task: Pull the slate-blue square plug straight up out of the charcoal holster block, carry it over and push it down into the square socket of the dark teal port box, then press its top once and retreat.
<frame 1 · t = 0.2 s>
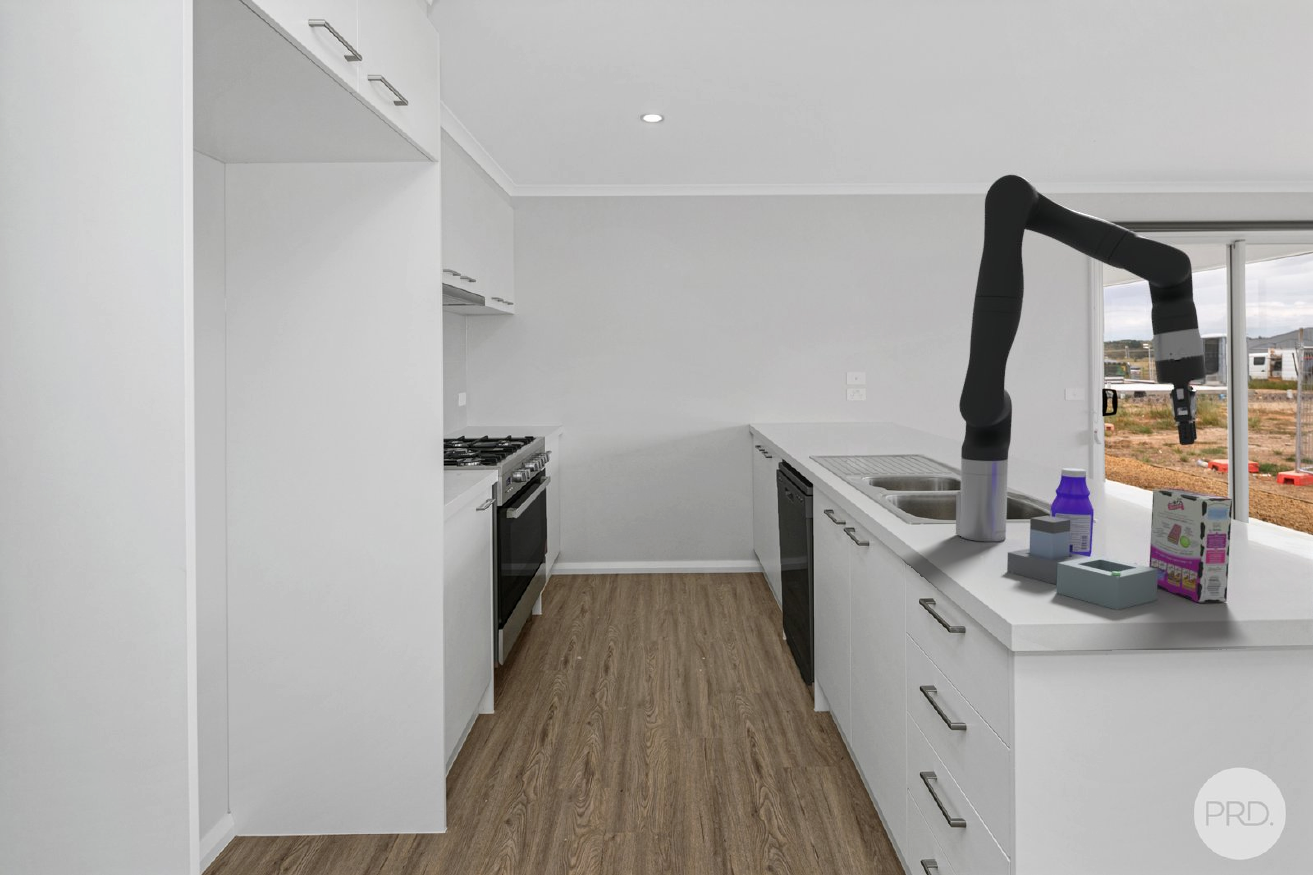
hand: (1188, 442, 142), 22 cm above the worktop, tool pointing down, fingers open, 8 cm apart
holster: (1048, 574, 135), on the worktop
bottle: (1069, 560, 145), on the worktop
candy bar box: (1186, 594, 123), on the worktop
plug: (1049, 546, 135), in the holster
port: (1105, 596, 122), on the worktop
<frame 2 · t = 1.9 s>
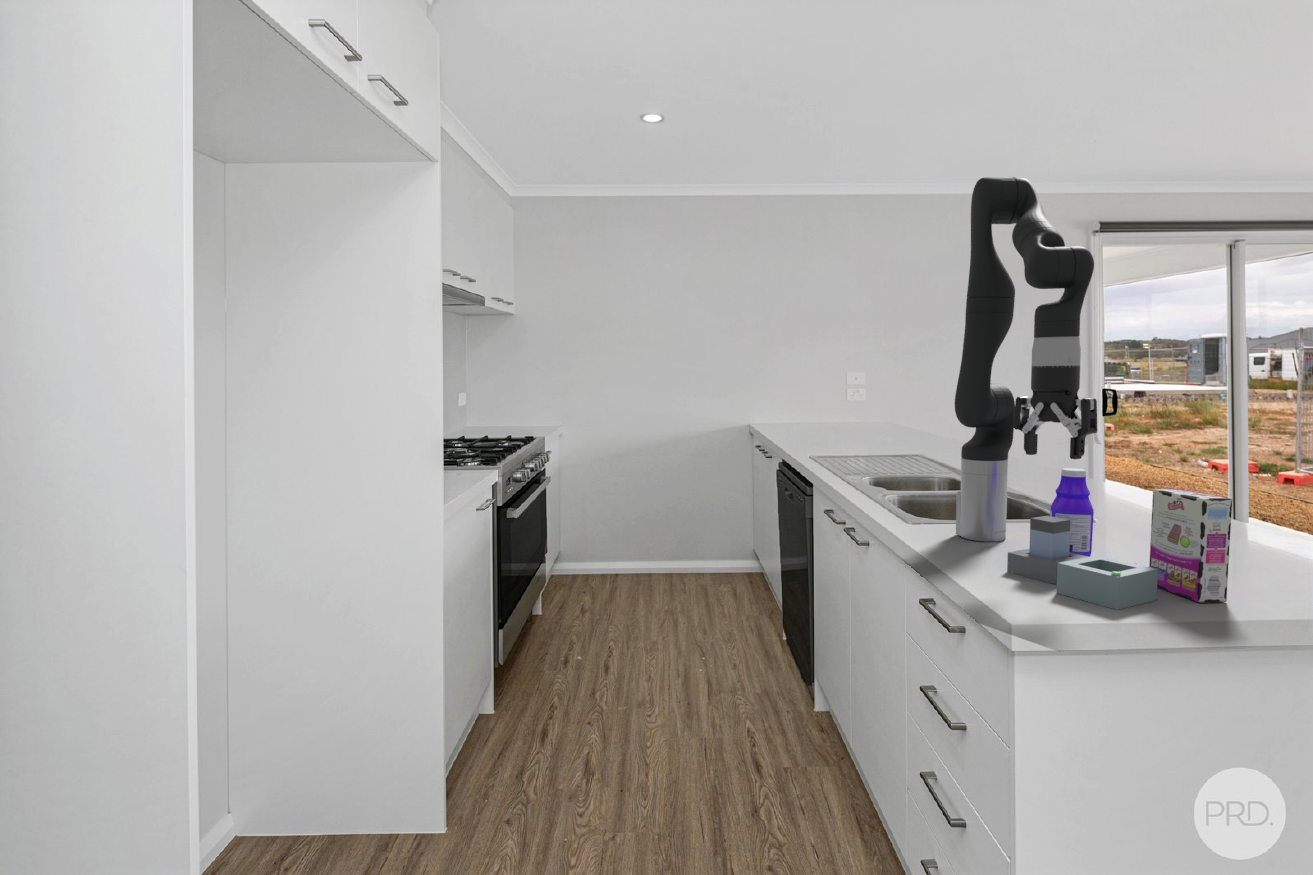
hand: (1052, 456, 133), 21 cm above the worktop, tool pointing down, fingers open, 8 cm apart
nothing on the worktop moved.
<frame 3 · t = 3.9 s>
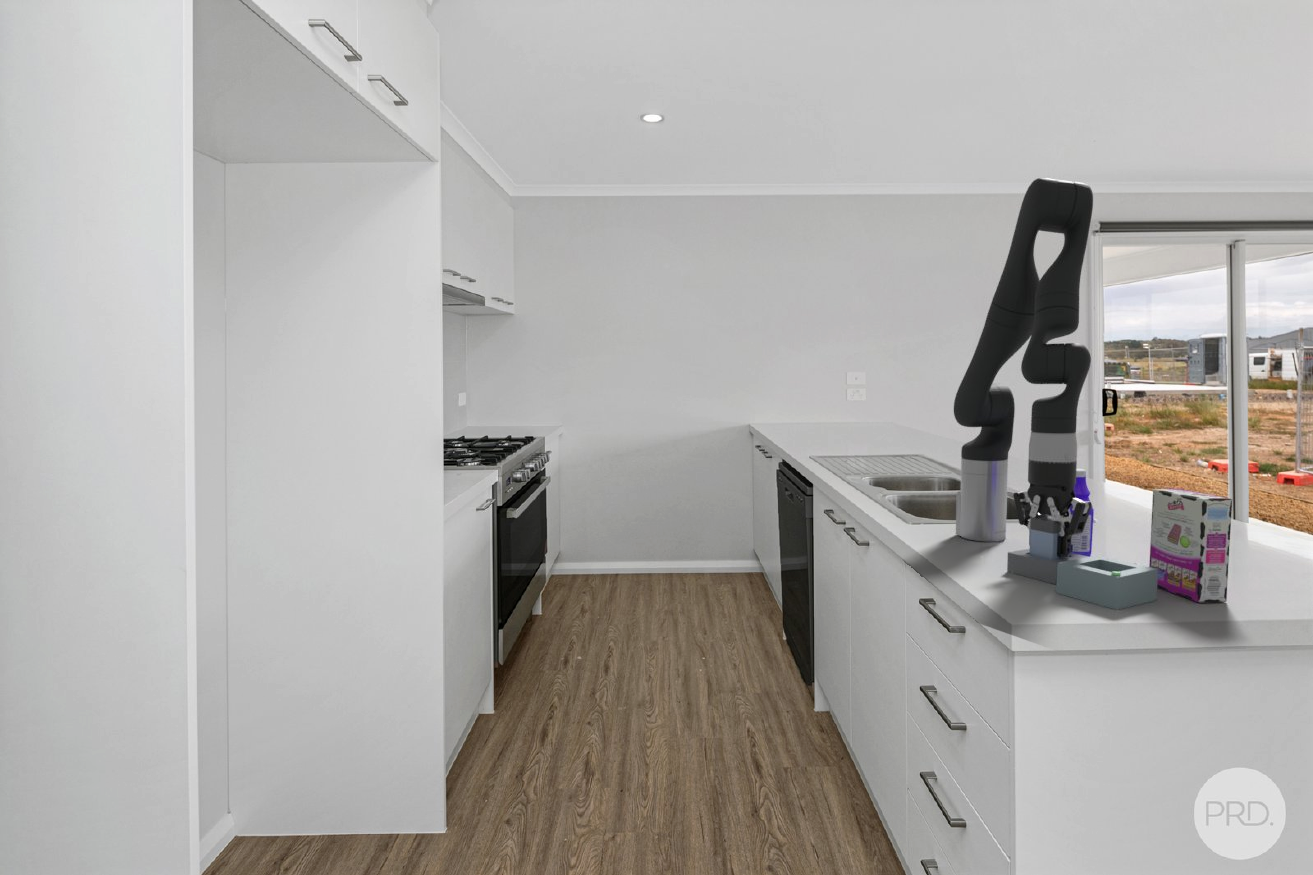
hand: (1049, 553, 135), 4 cm above the worktop, tool pointing down, fingers closed on plug, 4 cm apart
plug: (1049, 546, 135), in the holster, touching gripper
everything else where it was.
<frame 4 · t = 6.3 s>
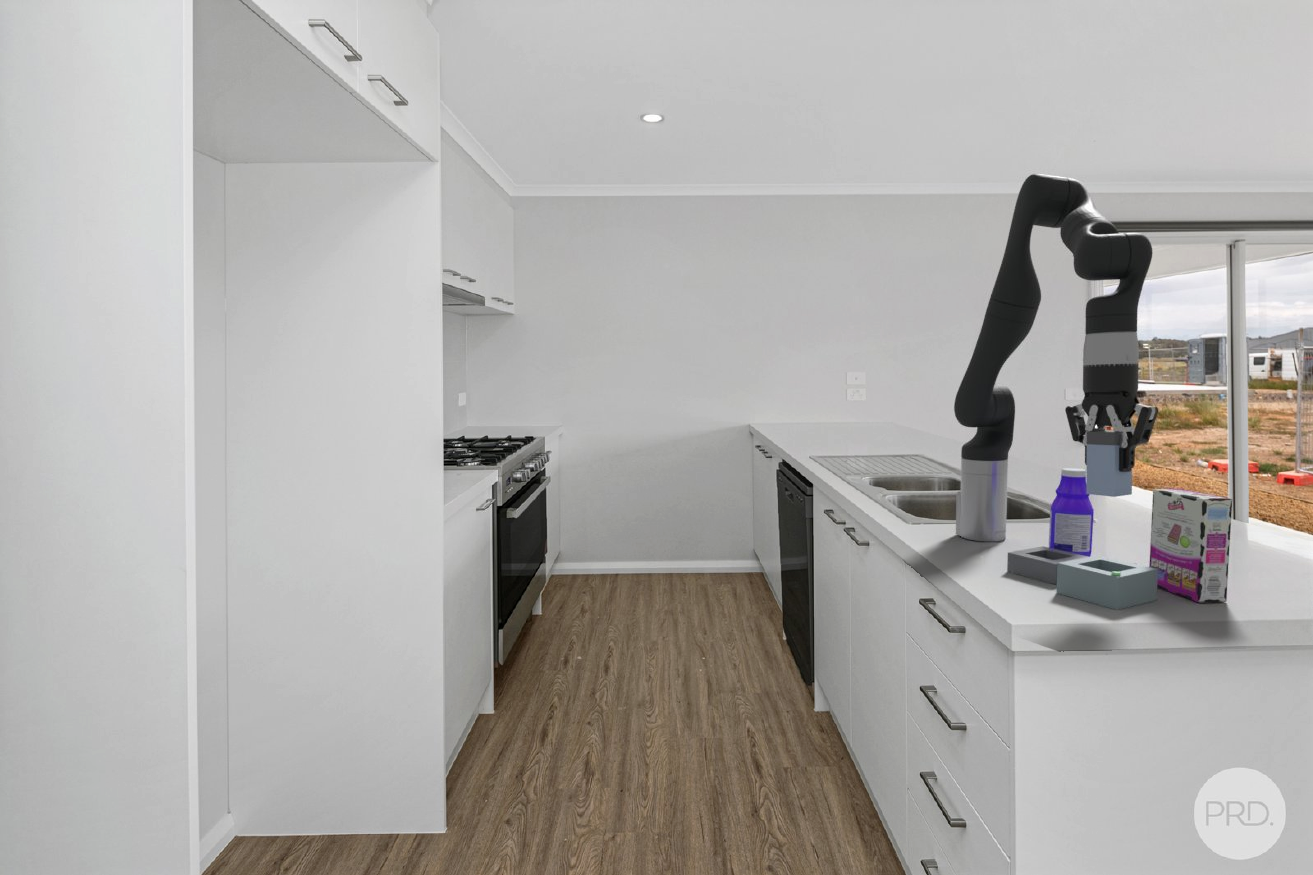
hand: (1108, 469, 121), 20 cm above the worktop, tool pointing down, fingers closed on plug, 4 cm apart
plug: (1109, 462, 121), point 22 cm above the worktop, touching gripper
everything else where it was.
when the fingers open (6 cm above the worktop, at t = 8.6 s): plug drops 1 cm, resting on port.
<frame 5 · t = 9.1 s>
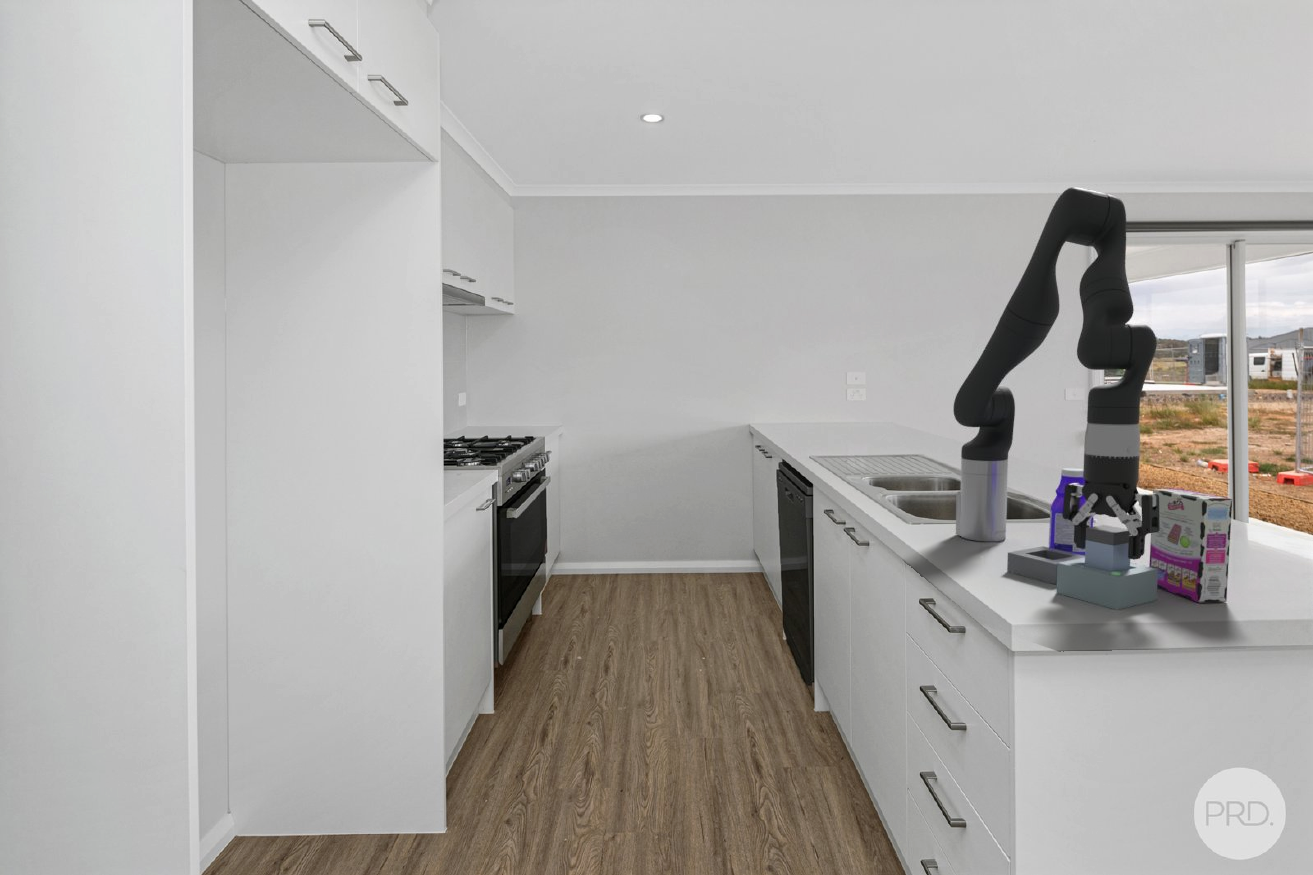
hand: (1107, 553, 121), 7 cm above the worktop, tool pointing down, fingers open, 8 cm apart
plug: (1107, 559, 121), in the port, point 6 cm above the worktop
everything else where it was.
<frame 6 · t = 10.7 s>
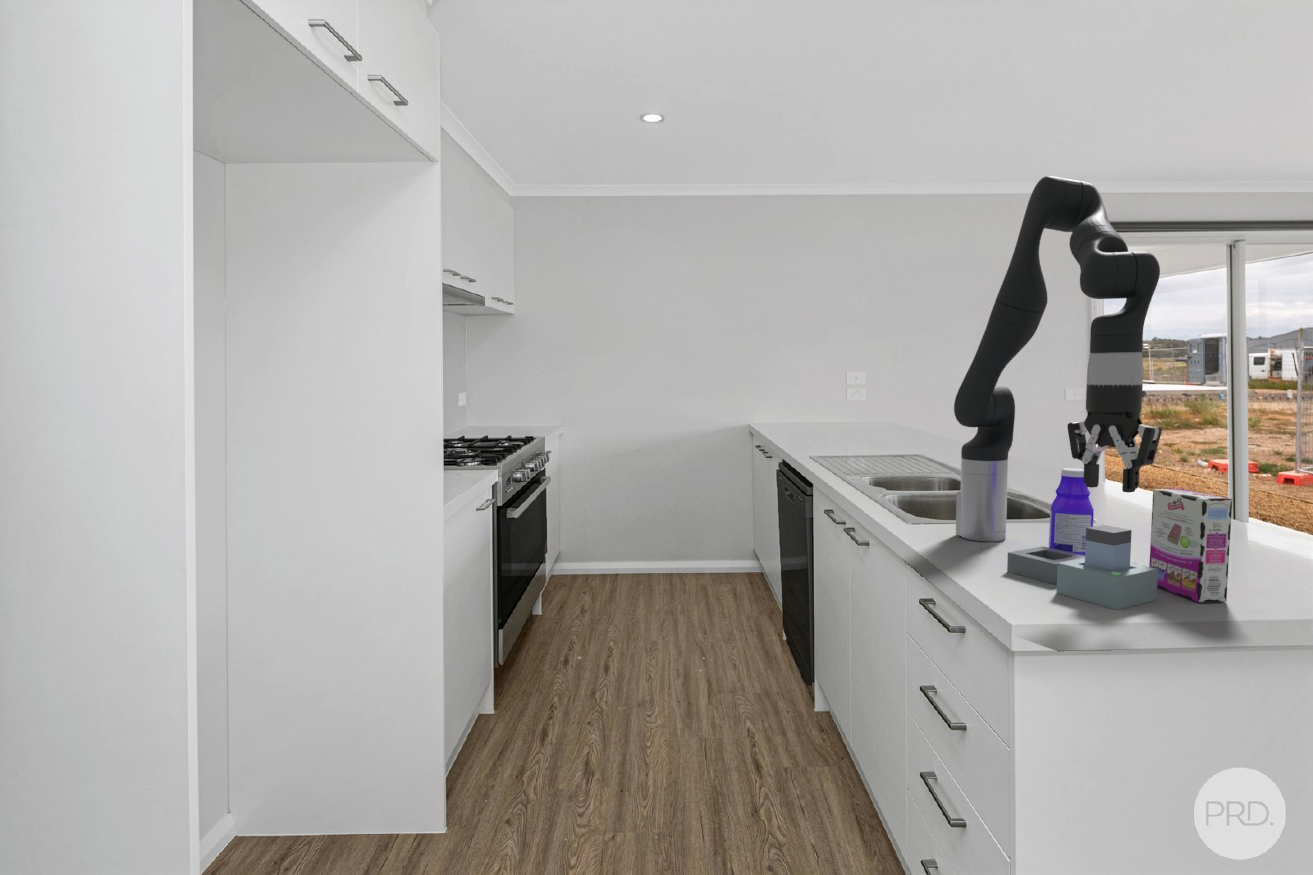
hand: (1109, 488, 120), 17 cm above the worktop, tool pointing down, fingers open, 5 cm apart
nothing on the worktop moved.
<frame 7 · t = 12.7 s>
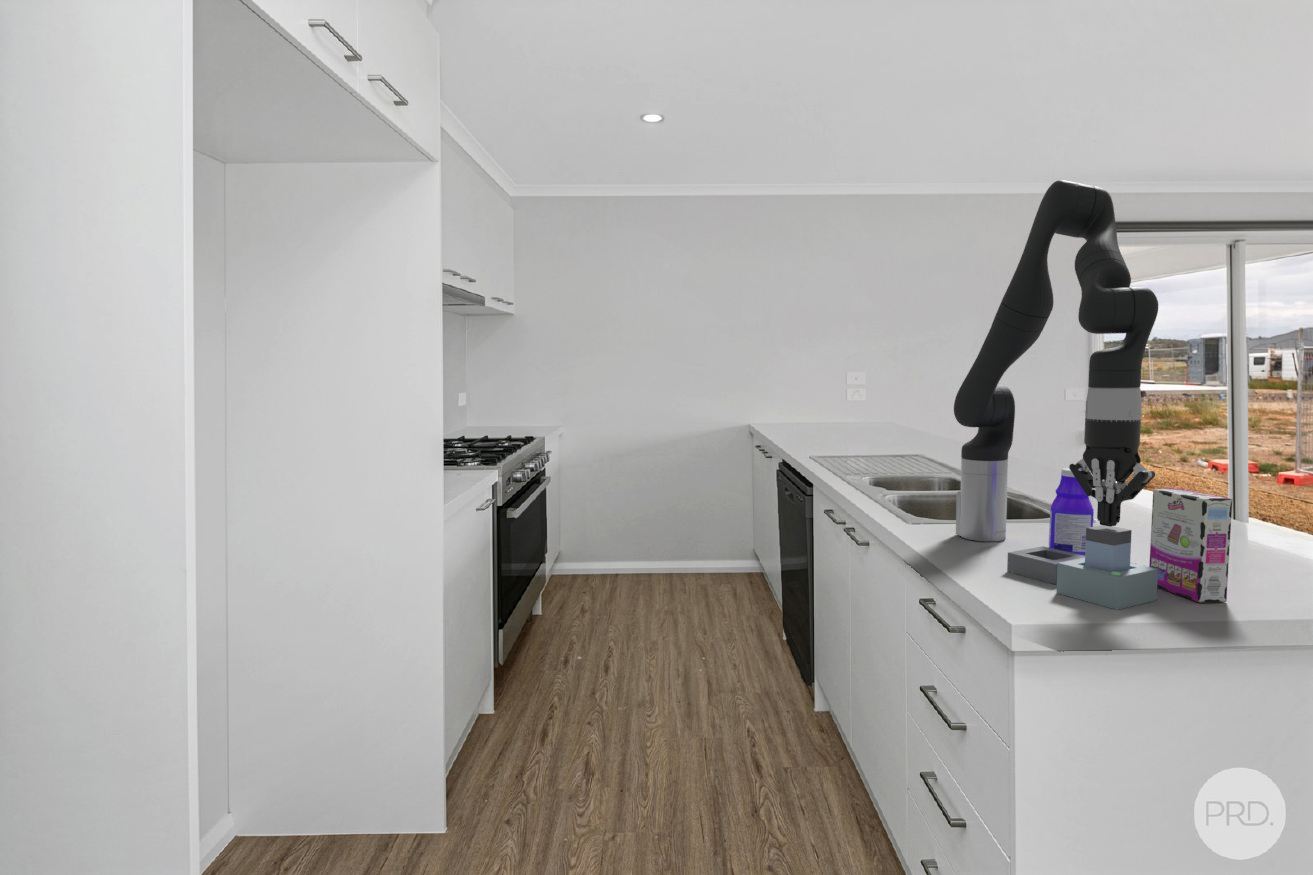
hand: (1108, 525, 121), 12 cm above the worktop, tool pointing down, fingers closed
nothing on the worktop moved.
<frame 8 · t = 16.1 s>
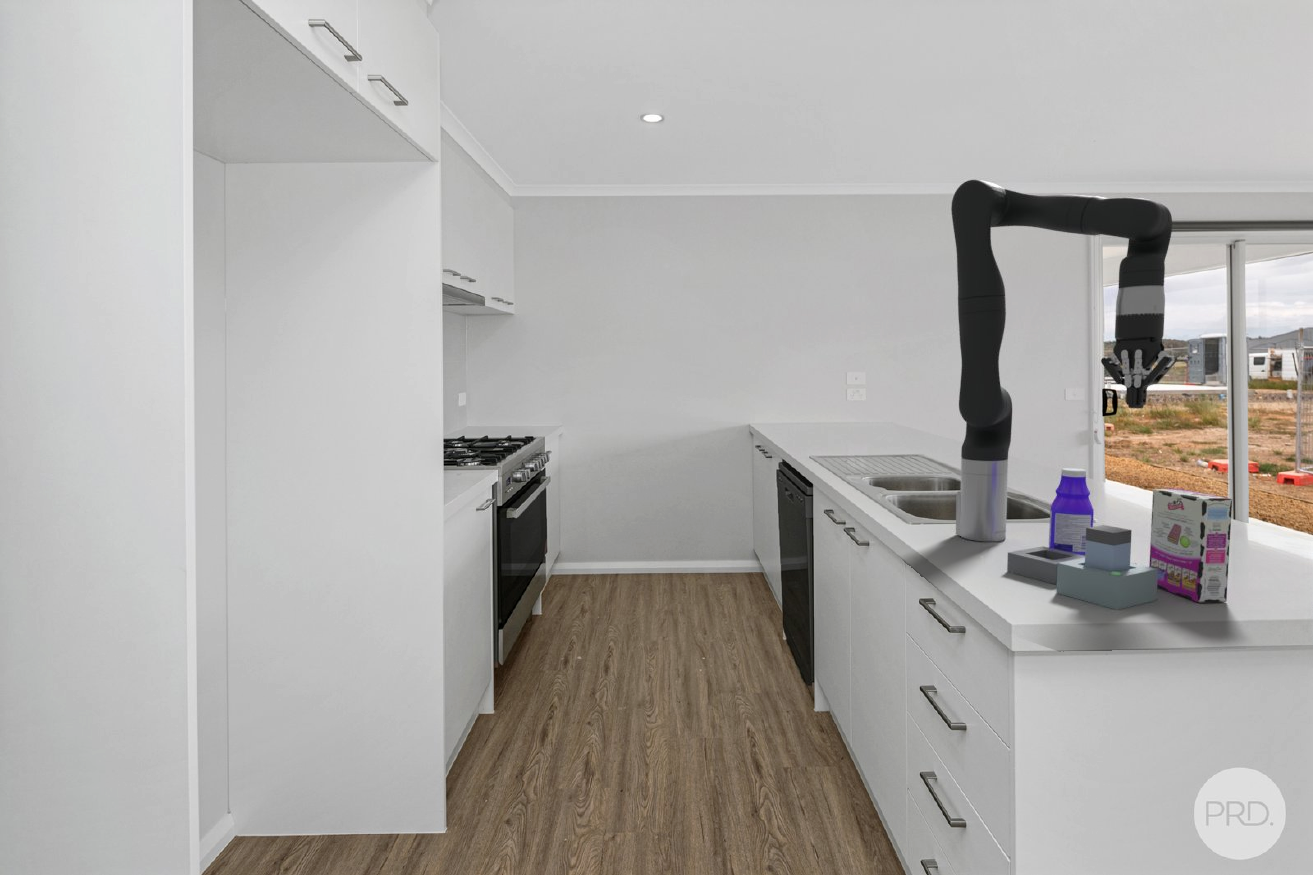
hand: (1135, 408, 140), 29 cm above the worktop, tool pointing down, fingers closed
nothing on the worktop moved.
at the end: plug 0.0 cm off-centre on the port, point 6.0 cm above the port's base; plug tilted 0°; the gripper is holding nothing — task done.
